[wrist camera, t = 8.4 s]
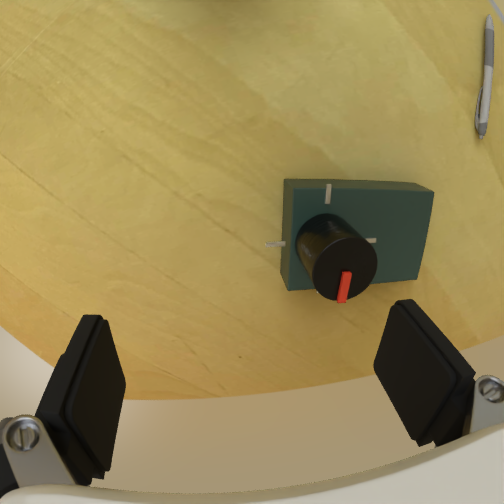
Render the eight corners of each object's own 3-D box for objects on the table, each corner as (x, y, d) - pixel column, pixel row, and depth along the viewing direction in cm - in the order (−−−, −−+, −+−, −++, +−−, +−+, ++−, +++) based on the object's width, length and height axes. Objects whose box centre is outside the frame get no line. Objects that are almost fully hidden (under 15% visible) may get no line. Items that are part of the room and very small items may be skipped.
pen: (471, 136, 24) (480, 138, 23) (480, 13, 18) (489, 11, 17) (477, 138, 24) (487, 141, 23) (486, 17, 18) (495, 16, 17)
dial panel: (415, 179, 25) (436, 188, 22) (400, 267, 29) (417, 283, 26) (260, 175, 24) (267, 184, 21) (258, 277, 27) (264, 297, 24)
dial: (297, 212, 22) (319, 238, 18) (355, 214, 23) (386, 239, 18) (291, 269, 24) (308, 305, 20) (346, 268, 24) (371, 301, 20)
